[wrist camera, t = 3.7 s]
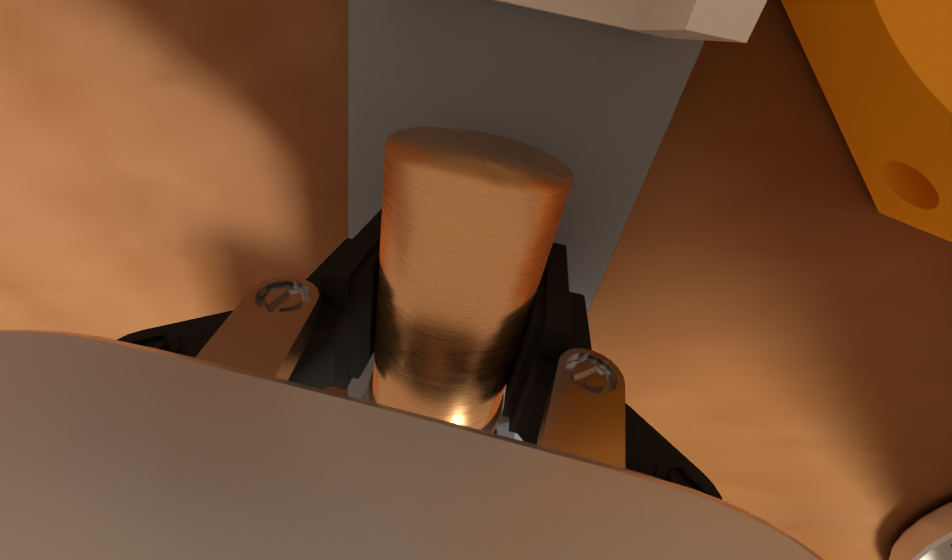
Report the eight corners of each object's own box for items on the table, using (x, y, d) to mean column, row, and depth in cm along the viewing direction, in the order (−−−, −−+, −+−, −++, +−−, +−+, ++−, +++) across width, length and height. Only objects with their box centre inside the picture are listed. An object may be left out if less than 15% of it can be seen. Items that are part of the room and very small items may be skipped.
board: (779, -181, 7) (815, -215, 6) (506, 481, 20) (503, 504, 19) (374, -262, 8) (348, -305, 7) (357, 442, 21) (347, 463, 20)
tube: (573, 151, 9) (587, 217, 6) (462, 503, 18) (443, 605, 15) (414, 115, 9) (342, 159, 6) (381, 482, 18) (345, 578, 15)
